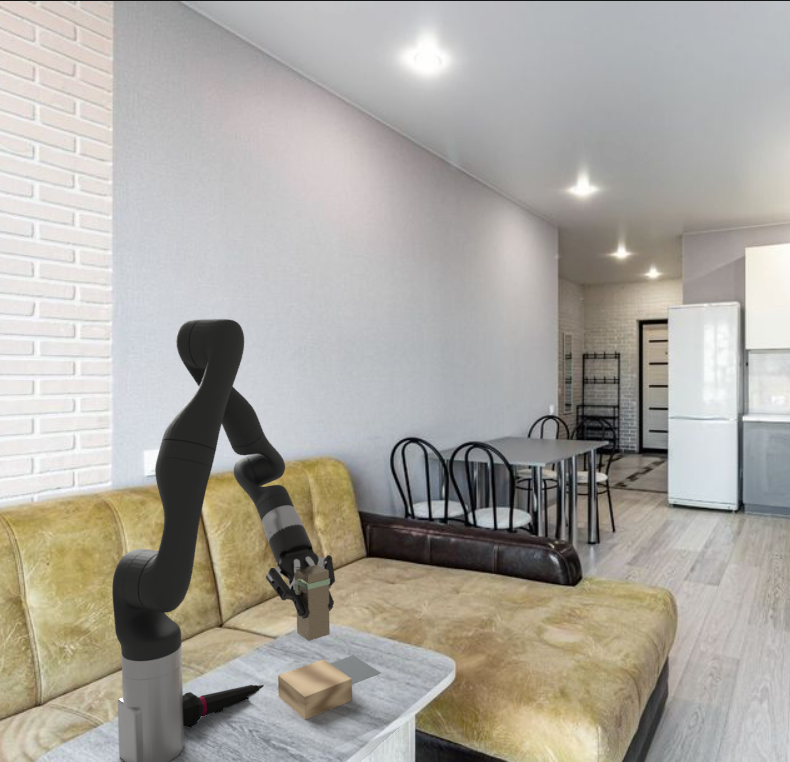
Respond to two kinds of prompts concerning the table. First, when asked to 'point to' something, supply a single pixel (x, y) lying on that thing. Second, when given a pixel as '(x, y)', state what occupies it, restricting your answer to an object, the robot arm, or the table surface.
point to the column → (314, 602)
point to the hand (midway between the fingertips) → (318, 612)
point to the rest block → (314, 688)
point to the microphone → (213, 703)
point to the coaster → (355, 668)
